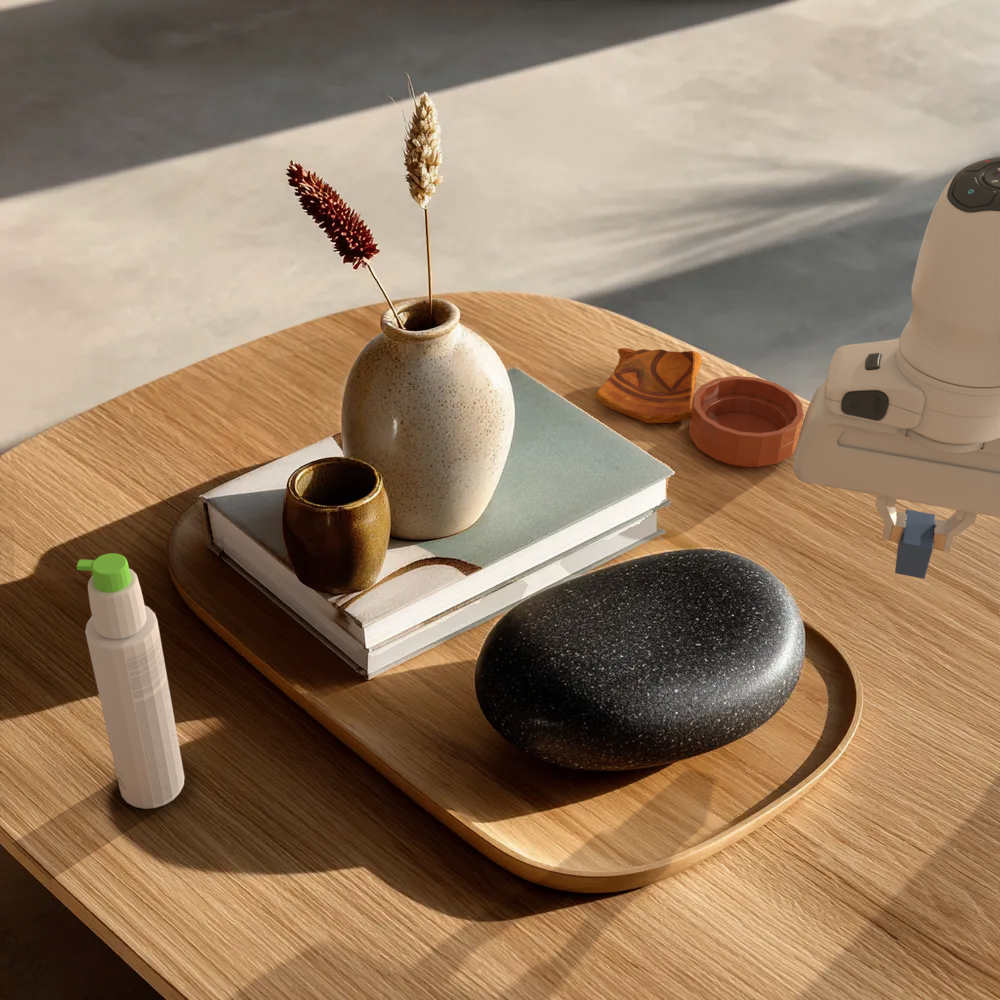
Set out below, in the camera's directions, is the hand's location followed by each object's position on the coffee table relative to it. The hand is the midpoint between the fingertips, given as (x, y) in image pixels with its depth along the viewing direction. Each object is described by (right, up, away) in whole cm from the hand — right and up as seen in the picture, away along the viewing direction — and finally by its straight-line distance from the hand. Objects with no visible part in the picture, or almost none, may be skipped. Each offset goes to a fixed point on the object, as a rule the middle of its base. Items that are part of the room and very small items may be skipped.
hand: (915, 541), depth 102 cm
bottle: (-56, -17, -10) cm, 59 cm away
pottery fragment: (-17, +13, +31) cm, 38 cm away
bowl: (-9, +9, +25) cm, 28 cm away
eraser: (0, -1, +1) cm, 2 cm away
